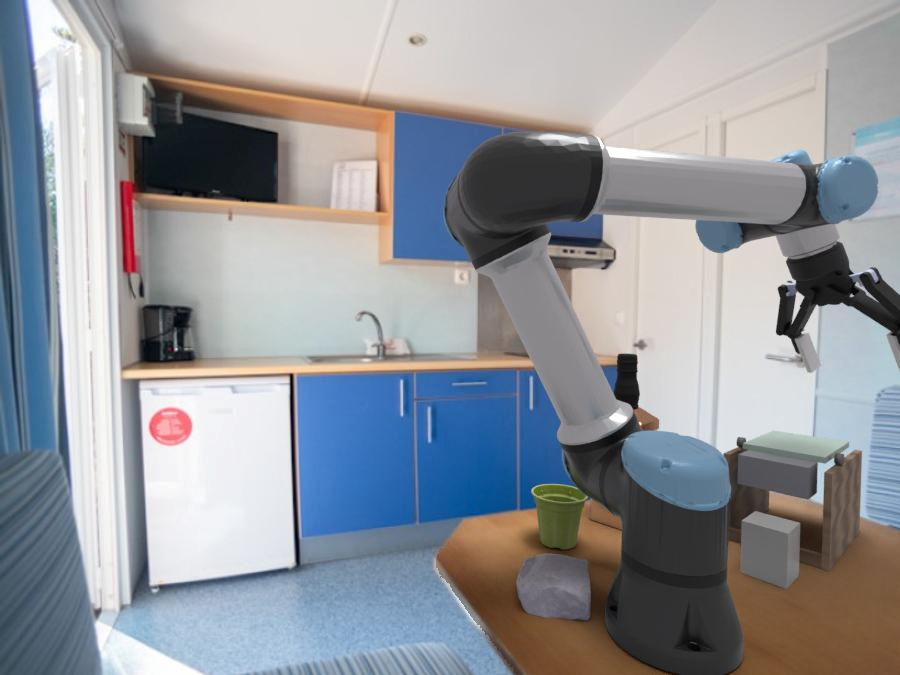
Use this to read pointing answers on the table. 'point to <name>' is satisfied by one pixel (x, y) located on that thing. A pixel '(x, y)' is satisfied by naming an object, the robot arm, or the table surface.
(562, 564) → the stone block
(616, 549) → the table surface
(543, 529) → the plant pot
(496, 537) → the table surface
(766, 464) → the trapdoor
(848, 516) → the trapdoor stand
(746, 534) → the grey stone block
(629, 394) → the whiskey bottle
